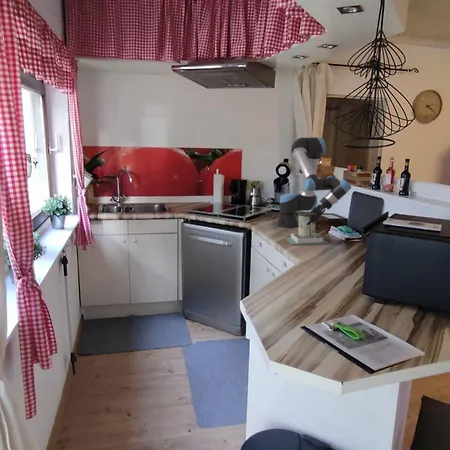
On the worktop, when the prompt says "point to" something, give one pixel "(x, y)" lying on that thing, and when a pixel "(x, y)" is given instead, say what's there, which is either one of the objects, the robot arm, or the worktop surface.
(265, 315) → the worktop surface
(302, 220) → the coffee can
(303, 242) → the mount plate
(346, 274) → the worktop surface
